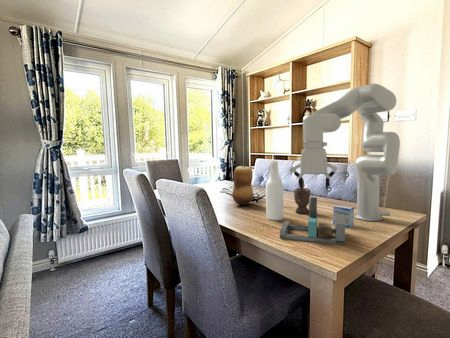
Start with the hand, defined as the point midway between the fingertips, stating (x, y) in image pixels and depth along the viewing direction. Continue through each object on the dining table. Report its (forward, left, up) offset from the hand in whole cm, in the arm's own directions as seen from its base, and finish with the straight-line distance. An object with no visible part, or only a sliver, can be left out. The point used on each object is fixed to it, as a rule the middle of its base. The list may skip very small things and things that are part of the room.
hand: (314, 187), depth 102 cm
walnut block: (-4, +1, -20) cm, 21 cm away
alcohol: (+20, -19, -20) cm, 34 cm away
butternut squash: (+45, -43, -20) cm, 66 cm away
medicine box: (-12, -17, -20) cm, 29 cm away
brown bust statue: (+7, -32, -20) cm, 39 cm away
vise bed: (+1, +1, -20) cm, 20 cm away
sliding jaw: (0, +1, -18) cm, 18 cm away
